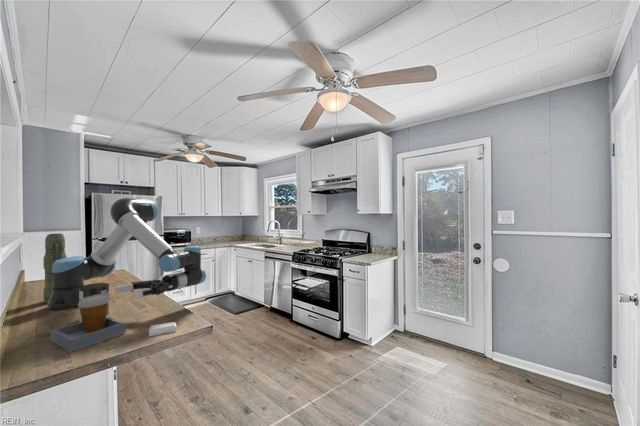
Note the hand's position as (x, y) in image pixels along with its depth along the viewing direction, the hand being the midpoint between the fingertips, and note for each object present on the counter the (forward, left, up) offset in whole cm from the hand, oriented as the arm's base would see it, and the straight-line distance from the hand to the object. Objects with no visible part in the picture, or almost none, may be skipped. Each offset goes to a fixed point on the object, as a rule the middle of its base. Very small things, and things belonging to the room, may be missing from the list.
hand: (124, 292), depth 112 cm
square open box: (0, -11, -13) cm, 18 cm away
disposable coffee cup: (-4, -8, -13) cm, 16 cm away
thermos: (-69, +1, -14) cm, 71 cm away
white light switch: (+19, +4, -14) cm, 24 cm away
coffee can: (-21, -1, -14) cm, 25 cm away
